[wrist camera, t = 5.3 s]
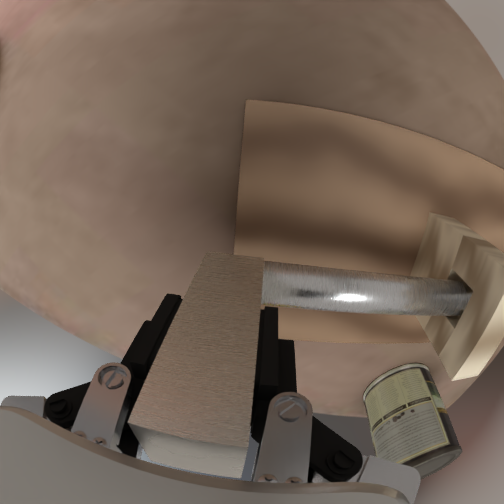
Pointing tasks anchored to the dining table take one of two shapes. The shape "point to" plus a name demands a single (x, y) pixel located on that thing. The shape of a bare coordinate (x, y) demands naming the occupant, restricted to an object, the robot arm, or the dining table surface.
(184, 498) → the robot arm
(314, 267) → the crank handle
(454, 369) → the bearing stand
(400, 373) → the coffee can
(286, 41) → the dining table surface
